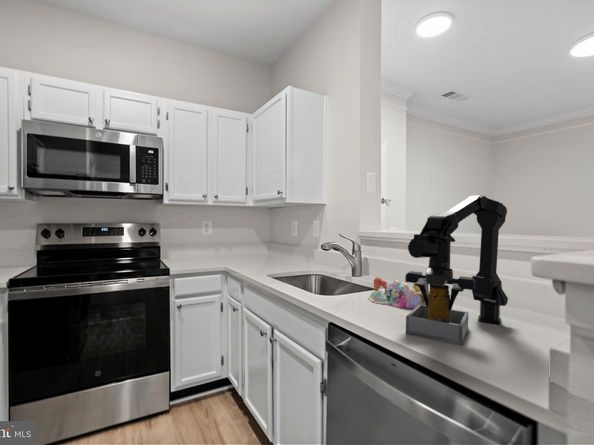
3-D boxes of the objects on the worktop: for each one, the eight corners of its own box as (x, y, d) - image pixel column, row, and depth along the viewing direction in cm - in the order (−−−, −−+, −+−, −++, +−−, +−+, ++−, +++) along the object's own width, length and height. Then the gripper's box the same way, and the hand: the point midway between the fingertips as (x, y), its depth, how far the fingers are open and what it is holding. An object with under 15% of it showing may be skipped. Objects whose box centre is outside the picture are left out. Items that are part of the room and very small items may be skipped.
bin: (418, 319, 105) (419, 304, 105) (468, 328, 97) (468, 312, 96) (405, 333, 91) (406, 316, 91) (461, 345, 83) (462, 326, 83)
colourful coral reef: (421, 296, 139) (422, 276, 139) (440, 311, 116) (441, 286, 116) (365, 294, 142) (365, 273, 142) (372, 308, 118) (373, 284, 118)
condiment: (431, 319, 99) (432, 281, 99) (460, 325, 93) (461, 285, 93) (422, 324, 93) (423, 284, 93) (452, 331, 88) (453, 289, 88)
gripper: (400, 256, 92) (399, 309, 92) (472, 262, 82) (471, 321, 82) (410, 253, 101) (409, 301, 101) (476, 258, 91) (474, 311, 91)
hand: (438, 308), depth 94 cm, fingers closed on condiment, 6 cm apart
